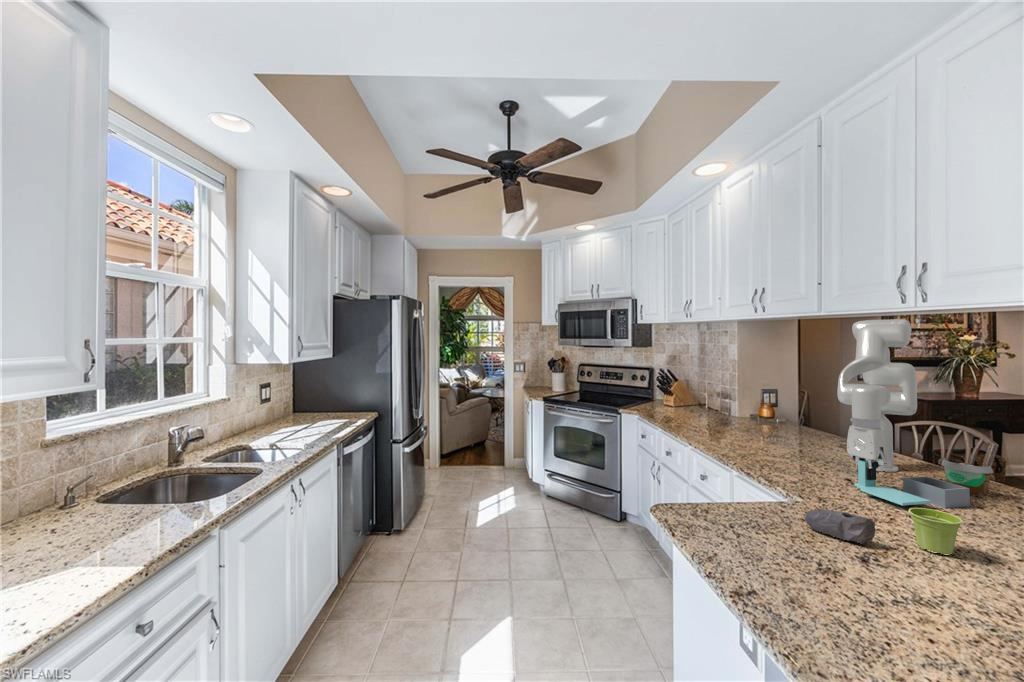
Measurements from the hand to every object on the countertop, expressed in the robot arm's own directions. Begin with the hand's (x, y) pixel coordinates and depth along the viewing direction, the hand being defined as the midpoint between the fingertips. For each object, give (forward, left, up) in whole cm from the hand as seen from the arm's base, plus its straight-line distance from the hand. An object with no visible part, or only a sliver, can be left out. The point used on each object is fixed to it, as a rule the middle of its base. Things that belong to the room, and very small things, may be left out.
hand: (866, 477), depth 143 cm
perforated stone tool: (+26, -38, -6) cm, 46 cm away
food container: (+5, +32, -6) cm, 33 cm away
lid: (+7, 0, -3) cm, 7 cm away
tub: (+10, +14, -5) cm, 18 cm away
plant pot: (+36, -21, -6) cm, 42 cm away
